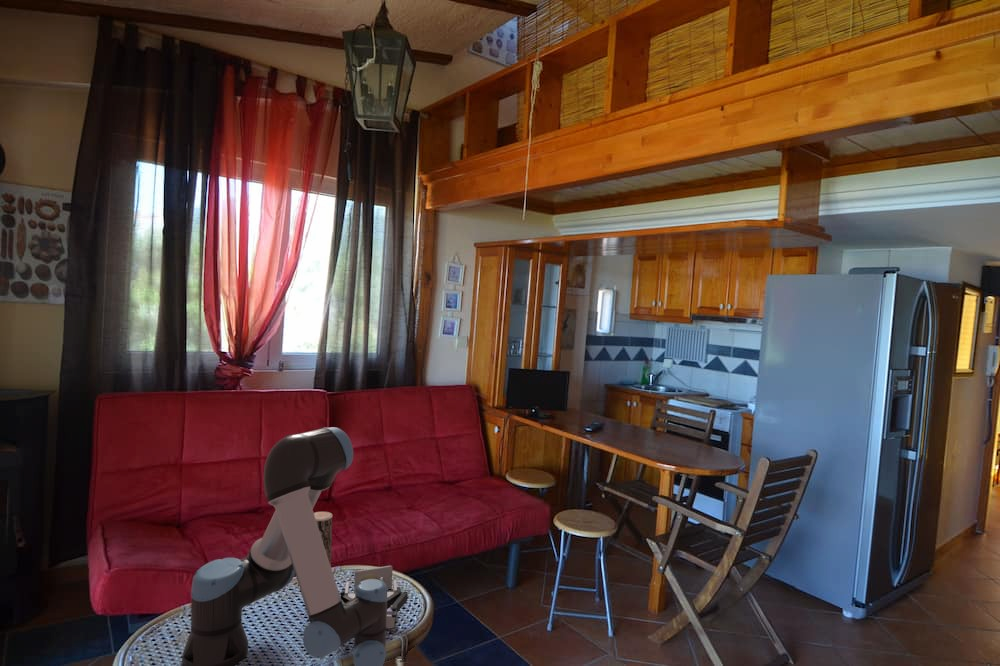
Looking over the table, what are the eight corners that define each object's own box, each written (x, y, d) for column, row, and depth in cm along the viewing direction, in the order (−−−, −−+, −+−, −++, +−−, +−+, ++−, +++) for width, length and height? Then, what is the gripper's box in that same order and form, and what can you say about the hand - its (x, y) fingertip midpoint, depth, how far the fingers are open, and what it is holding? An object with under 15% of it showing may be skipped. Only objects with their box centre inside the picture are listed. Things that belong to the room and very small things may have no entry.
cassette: (354, 596, 181) (355, 572, 180) (353, 593, 182) (354, 570, 182) (392, 590, 186) (393, 566, 185) (390, 587, 187) (391, 564, 187)
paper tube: (323, 586, 186) (326, 510, 185) (333, 594, 181) (336, 516, 180) (303, 592, 181) (305, 514, 180) (312, 601, 176) (315, 521, 175)
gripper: (319, 642, 147) (326, 600, 167) (418, 635, 152) (413, 595, 173) (320, 613, 146) (327, 574, 167) (419, 607, 151) (414, 570, 172)
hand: (371, 585), depth 170 cm, fingers open, 13 cm apart
